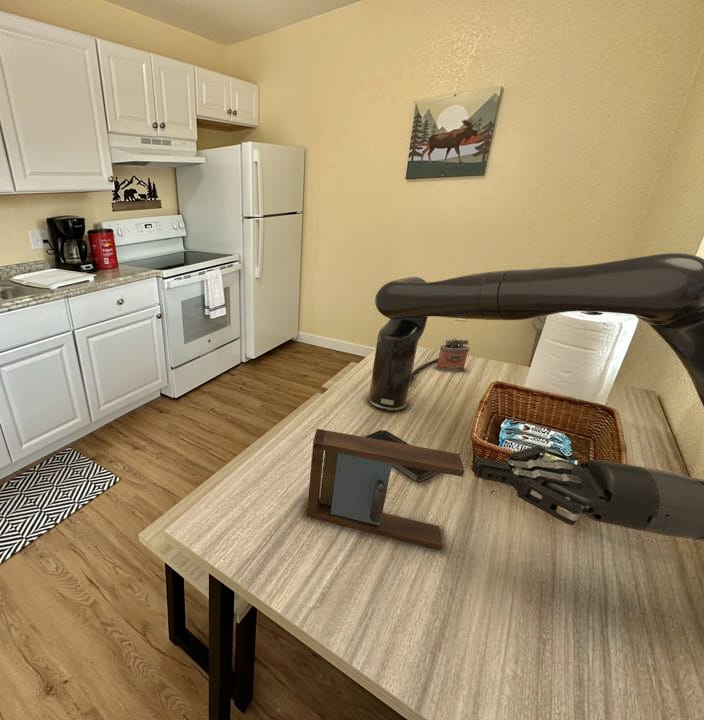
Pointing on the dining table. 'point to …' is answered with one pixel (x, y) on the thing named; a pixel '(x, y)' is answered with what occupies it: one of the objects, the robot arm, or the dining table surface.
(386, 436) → the phone
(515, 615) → the dining table surface
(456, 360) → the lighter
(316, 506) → the frame
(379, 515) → the closet door
